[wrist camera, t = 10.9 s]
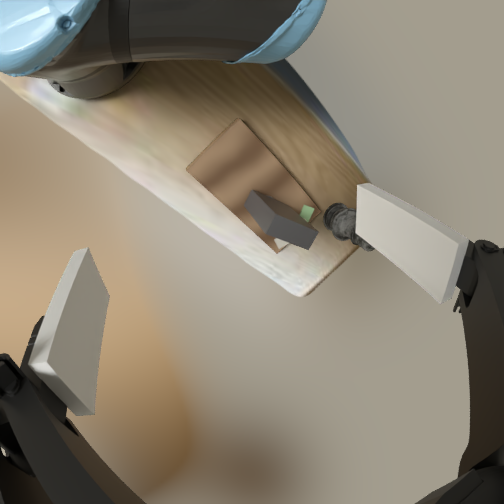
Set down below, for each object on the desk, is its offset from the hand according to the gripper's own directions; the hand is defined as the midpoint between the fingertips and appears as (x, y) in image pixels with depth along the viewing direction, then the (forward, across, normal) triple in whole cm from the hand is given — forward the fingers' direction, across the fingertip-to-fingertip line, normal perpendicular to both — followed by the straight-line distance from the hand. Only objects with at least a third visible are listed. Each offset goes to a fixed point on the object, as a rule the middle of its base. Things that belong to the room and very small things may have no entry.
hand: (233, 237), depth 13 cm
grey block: (+27, +11, -11) cm, 31 cm away
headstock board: (+29, +9, -8) cm, 31 cm away
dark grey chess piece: (+29, +23, -16) cm, 40 cm away
